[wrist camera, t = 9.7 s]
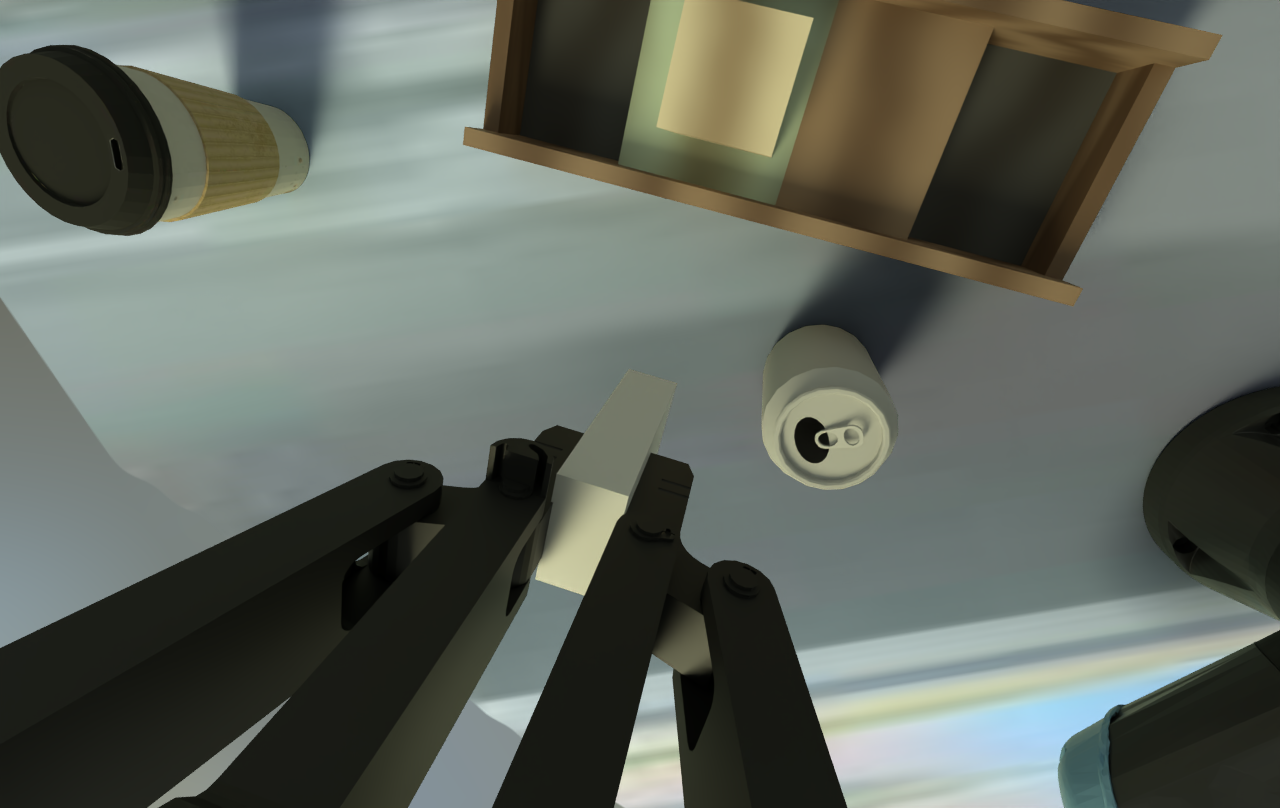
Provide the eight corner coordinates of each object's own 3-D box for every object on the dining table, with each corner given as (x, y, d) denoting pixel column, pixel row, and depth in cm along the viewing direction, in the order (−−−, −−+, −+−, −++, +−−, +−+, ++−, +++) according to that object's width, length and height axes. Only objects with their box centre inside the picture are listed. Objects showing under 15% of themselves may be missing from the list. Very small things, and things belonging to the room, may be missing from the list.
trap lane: (1141, 58, 33) (1222, 35, 27) (1026, 284, 38) (1073, 306, 32) (534, -78, 36) (489, -125, 30) (506, 147, 42) (463, 144, 36)
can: (752, 336, 43) (746, 395, 32) (859, 309, 41) (891, 361, 30) (776, 428, 45) (778, 511, 34) (879, 407, 43) (916, 489, 32)
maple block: (806, 42, 32) (813, 18, 27) (771, 157, 35) (771, 156, 29) (701, 17, 33) (687, -12, 28) (673, 132, 35) (656, 127, 30)
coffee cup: (206, 69, 44) (-47, 26, 30) (326, 86, 43) (117, 50, 29) (225, 206, 48) (8, 224, 34) (335, 227, 47) (155, 253, 33)
